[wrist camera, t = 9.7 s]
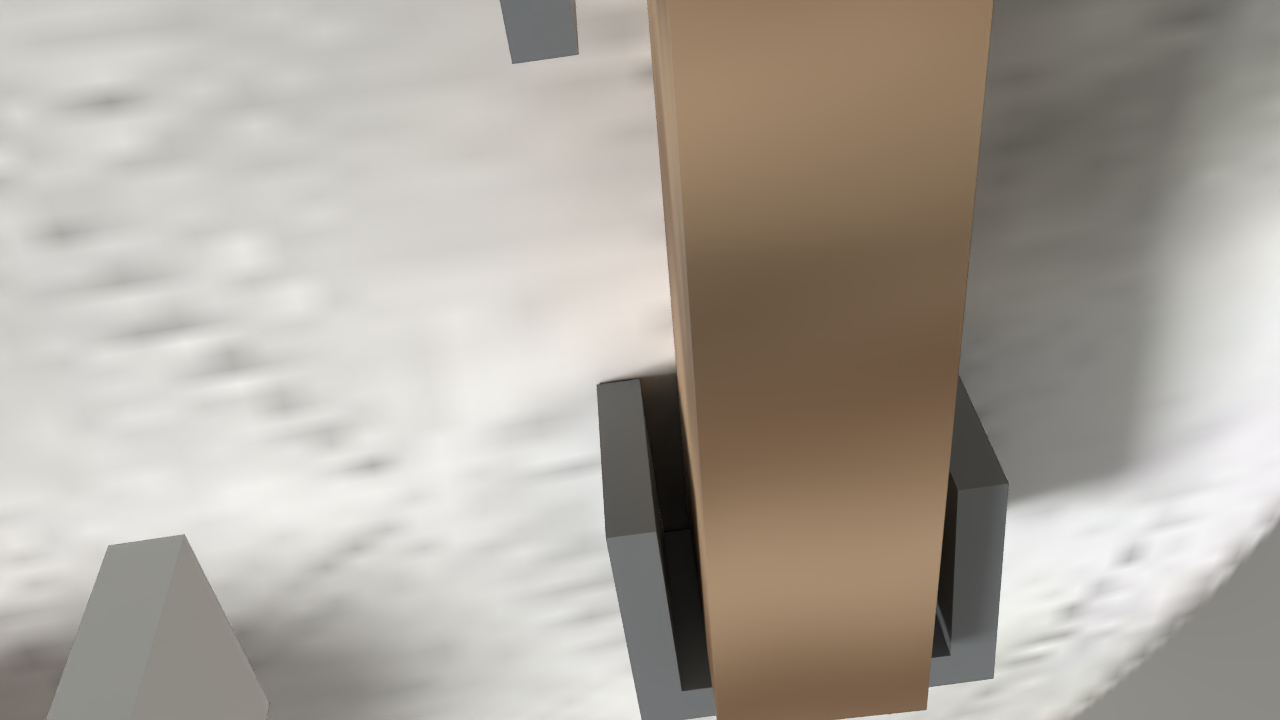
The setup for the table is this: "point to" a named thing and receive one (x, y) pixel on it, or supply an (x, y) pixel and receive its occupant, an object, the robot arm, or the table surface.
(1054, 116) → the table surface
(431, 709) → the table surface
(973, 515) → the end caps
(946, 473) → the wooden block
